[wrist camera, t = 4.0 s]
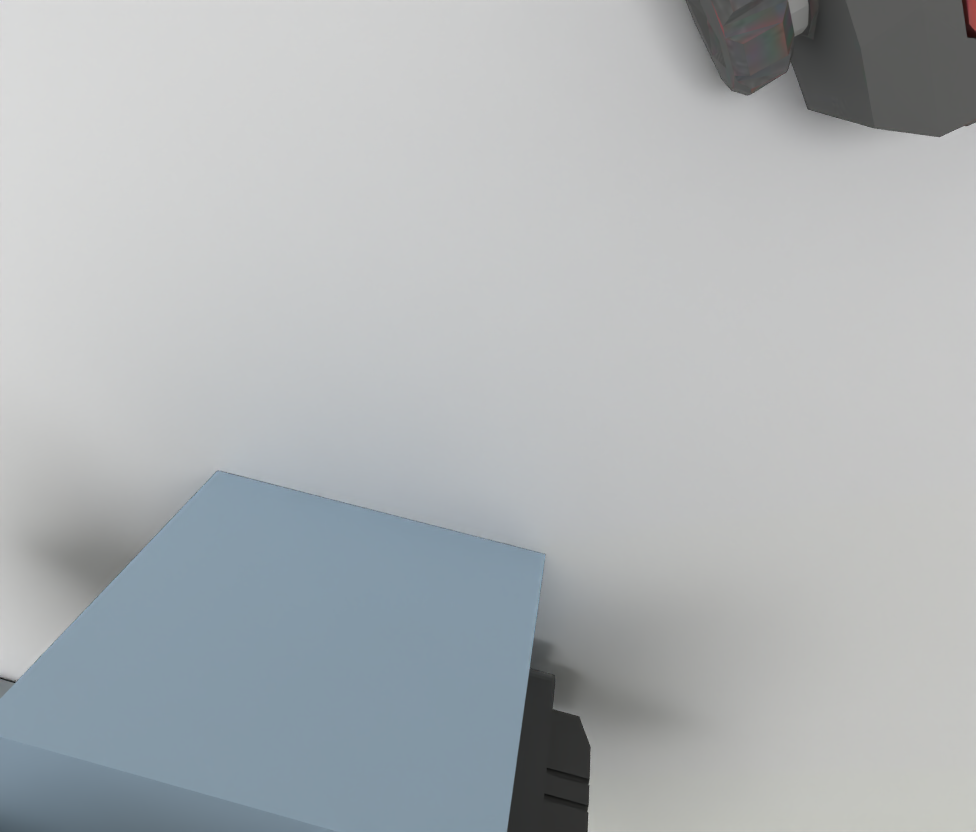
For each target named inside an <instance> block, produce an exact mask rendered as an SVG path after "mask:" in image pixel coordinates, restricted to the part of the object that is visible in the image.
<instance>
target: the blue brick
mask: <svg viewBox="0 0 976 832" xmlns="http://www.w3.org/2000/svg"><path fill="white" fill-rule="evenodd" d="M544 562H545V554H542V553H539V552H535V551H531V550H527V549H523V548H519V547H515V546H511V545H507V544H503V543H499V542H495V541H492V540H488V539H484V538H480V537H476V536H472V535H468V534H464V533H460V532H456V531H452V530H448V529H445V528H441V527H437V526H433V525H429V524H425V523H421V522H417V521H413V520H409V519H405V518H401V517H398V516H394V515H390V514H386V513H382V512H378V511H374V510H370V509H366V508H362V507H358V506H354V505H351V504H347V503H343V502H339V501H335V500H331V499H327V498H323V497H319V496H315V495H311V494H307V493H304V492H300V491H296V490H292V489H288V488H284V487H280V486H276V485H272V484H268V483H264V482H260V481H257V480H253V479H249V478H245V477H241V476H237V475H233V474H229V473H225V472H221V471H217V472H216V473H215V474H214V475H213V476H212V477H211V478H210V479H209V480H208V481H207V482H206V483H205V484H204V485H203V486H202V487H201V488H200V489H199V491H198V492H197V493H196V494H195V495H194V496H193V497H192V498H191V499H190V500H189V501H188V502H187V503H186V504H185V505H184V506H183V507H182V508H181V509H180V510H179V512H178V513H177V514H176V515H175V516H174V517H173V518H172V519H171V520H170V521H169V522H168V523H167V524H166V525H165V526H164V527H163V528H162V529H161V530H160V532H159V533H158V534H157V535H156V536H155V537H154V538H153V539H152V540H151V541H150V542H149V543H148V544H147V545H146V546H145V547H144V548H143V549H142V550H141V551H140V553H139V554H138V555H137V556H136V557H135V558H134V559H133V560H132V561H131V562H130V563H129V564H128V565H127V566H126V567H125V568H124V569H123V570H122V571H121V572H120V574H119V575H118V576H117V577H116V578H115V579H114V580H113V581H112V582H111V583H110V584H109V585H108V586H107V587H106V588H105V589H104V590H103V591H102V592H101V593H100V595H99V596H98V597H97V598H96V599H95V600H94V601H93V602H92V603H91V604H90V605H89V606H88V607H87V608H86V609H85V610H84V611H83V612H82V613H81V614H80V616H79V617H78V618H77V619H76V620H75V621H74V622H73V623H72V624H71V625H70V626H69V627H68V628H67V629H66V630H65V631H64V632H63V633H62V634H61V635H60V637H59V638H58V639H57V640H56V641H55V642H54V643H53V644H52V645H51V646H50V647H49V648H48V649H47V650H46V651H45V652H44V653H43V654H42V655H41V656H40V658H39V659H38V660H37V661H36V662H35V663H34V664H33V665H32V666H31V667H30V668H29V669H28V670H27V671H26V672H25V673H24V674H23V675H22V676H21V677H20V679H19V680H18V681H17V682H16V683H15V684H14V685H13V686H12V687H11V688H10V689H9V690H8V691H7V692H6V693H5V694H4V695H3V696H2V697H1V698H0V832H507V827H508V820H509V813H510V806H511V799H512V791H513V784H514V777H515V770H516V763H517V755H518V748H519V741H520V734H521V727H522V720H523V712H524V705H525V698H526V691H527V684H528V676H529V669H530V662H531V655H532V648H533V641H534V633H535V626H536V619H537V612H538V605H539V597H540V590H541V583H542V576H543V569H544Z"/></svg>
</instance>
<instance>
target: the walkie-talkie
mask: <svg viewBox="0 0 976 832" xmlns="http://www.w3.org/2000/svg"><path fill="white" fill-rule="evenodd" d="M686 2H687V5H688V7H689V10H690V12H691V15H692V17H693V20H694V22H695V24H696V26H697V28H698V31H699V33H700V35H701V37H702V39H703V41H704V43H705V45H706V47H707V49H708V51H709V54H710V56H711V58H712V60H713V62H714V64H715V66H716V68H717V70H718V73H719V75H720V77H721V79H722V80H723V81H724V82H725V83H726V85H727V86H728V87H729V88H730V89H731V90H732V91H734V92H738V93H741V94H745V95H750V94H752V93H754V92H755V91H757V90H759V89H760V88H762V87H763V86H765V85H767V84H768V83H770V82H771V81H773V80H775V79H776V78H778V77H779V76H781V75H783V74H784V73H786V72H787V70H788V67H789V64H790V61H791V62H792V65H793V68H794V71H795V74H796V77H797V79H798V82H799V85H800V88H801V91H802V94H803V97H804V99H805V102H806V105H807V108H808V109H809V110H812V111H816V112H819V113H823V114H826V115H830V116H833V117H837V118H840V119H844V120H847V121H851V122H854V123H858V124H861V125H865V126H868V127H872V128H876V129H883V130H891V131H898V132H906V133H913V134H920V135H928V136H935V137H941V136H943V135H945V134H947V133H949V132H952V131H954V130H956V129H958V128H960V127H962V126H969V125H971V124H973V123H975V122H976V0H686Z"/></svg>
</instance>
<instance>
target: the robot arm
mask: <svg viewBox="0 0 976 832" xmlns="http://www.w3.org/2000/svg"><path fill="white" fill-rule="evenodd" d="M554 687H555V676H554V675H552V674H548V673H544V672H541V671H537V670H533V669H529V676H528V684H527V691H526V698H525V705H524V712H523V720H522V727H521V734H520V741H519V748H518V755H517V763H516V770H515V777H514V784H513V791H512V799H511V806H510V813H509V820H508V827H507V832H588V812H587V810H588V804H589V785H588V783H589V776H590V748H591V747H590V744H589V742H588V739H587V736H586V734H585V731H584V728H583V726H582V723H581V720H580V717H579V716H575V715H572V714H568V713H564V712H561V711H557V710H553V709H552V708H553V698H554Z"/></svg>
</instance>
